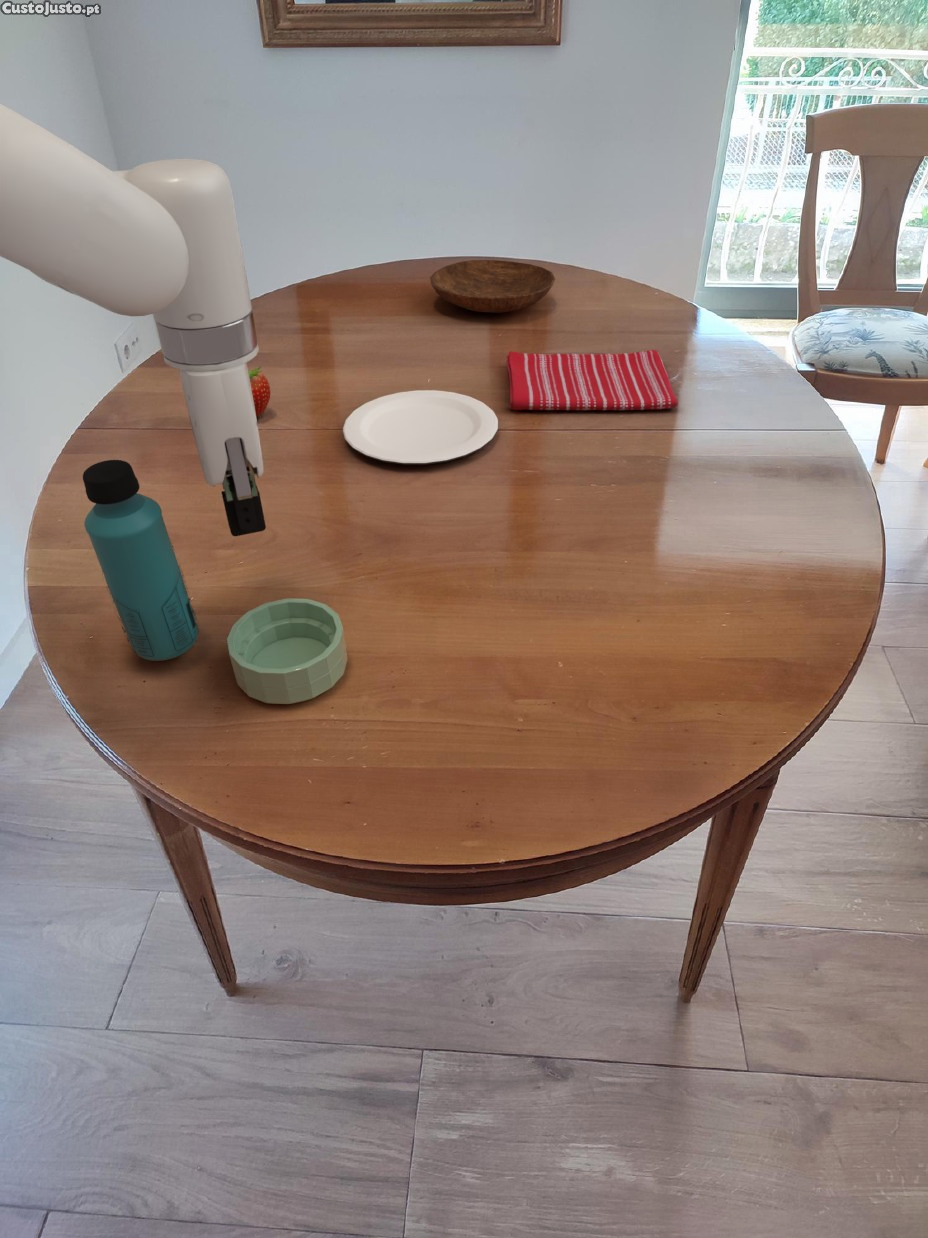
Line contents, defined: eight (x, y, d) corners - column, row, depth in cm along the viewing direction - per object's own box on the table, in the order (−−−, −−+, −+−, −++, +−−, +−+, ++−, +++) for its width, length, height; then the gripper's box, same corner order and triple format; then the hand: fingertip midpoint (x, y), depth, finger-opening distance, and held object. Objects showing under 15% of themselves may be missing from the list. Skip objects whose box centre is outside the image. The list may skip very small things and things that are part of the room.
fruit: (270, 406, 121) (260, 352, 116) (278, 421, 117) (268, 366, 112) (233, 414, 119) (221, 359, 114) (240, 429, 116) (228, 374, 111)
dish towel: (506, 364, 130) (506, 347, 128) (660, 363, 129) (662, 346, 127) (506, 414, 117) (506, 396, 115) (677, 413, 116) (680, 395, 114)
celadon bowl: (244, 721, 73) (234, 684, 70) (231, 648, 81) (221, 612, 78) (358, 693, 76) (352, 656, 73) (335, 624, 83) (329, 588, 80)
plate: (415, 387, 125) (415, 376, 123) (529, 426, 114) (529, 415, 113) (311, 441, 112) (309, 429, 111) (427, 490, 102) (427, 478, 101)
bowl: (457, 281, 160) (457, 254, 157) (568, 294, 153) (569, 266, 150) (412, 317, 146) (411, 288, 143) (531, 333, 139) (532, 303, 136)
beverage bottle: (214, 656, 80) (160, 472, 67) (146, 684, 77) (76, 498, 64) (190, 620, 84) (135, 440, 71) (124, 646, 81) (55, 464, 69)
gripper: (152, 312, 72) (197, 498, 83) (169, 378, 61) (218, 582, 72) (240, 301, 74) (272, 484, 85) (272, 363, 63) (304, 563, 74)
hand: (247, 528), depth 79 cm, fingers closed
